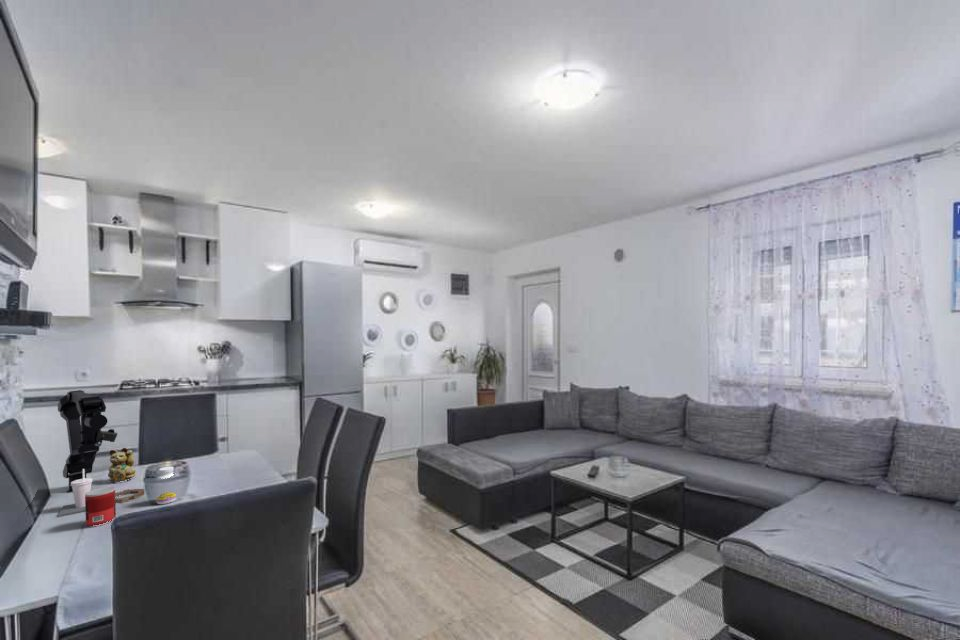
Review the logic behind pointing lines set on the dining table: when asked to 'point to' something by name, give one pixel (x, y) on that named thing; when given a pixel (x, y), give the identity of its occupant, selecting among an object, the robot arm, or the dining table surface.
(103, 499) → the canned food
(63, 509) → the coaster
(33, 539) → the dining table surface
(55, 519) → the dining table surface
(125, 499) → the collar
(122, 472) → the decorative figurine
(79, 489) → the smoothie
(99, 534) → the dining table surface
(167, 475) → the supplement bottle
